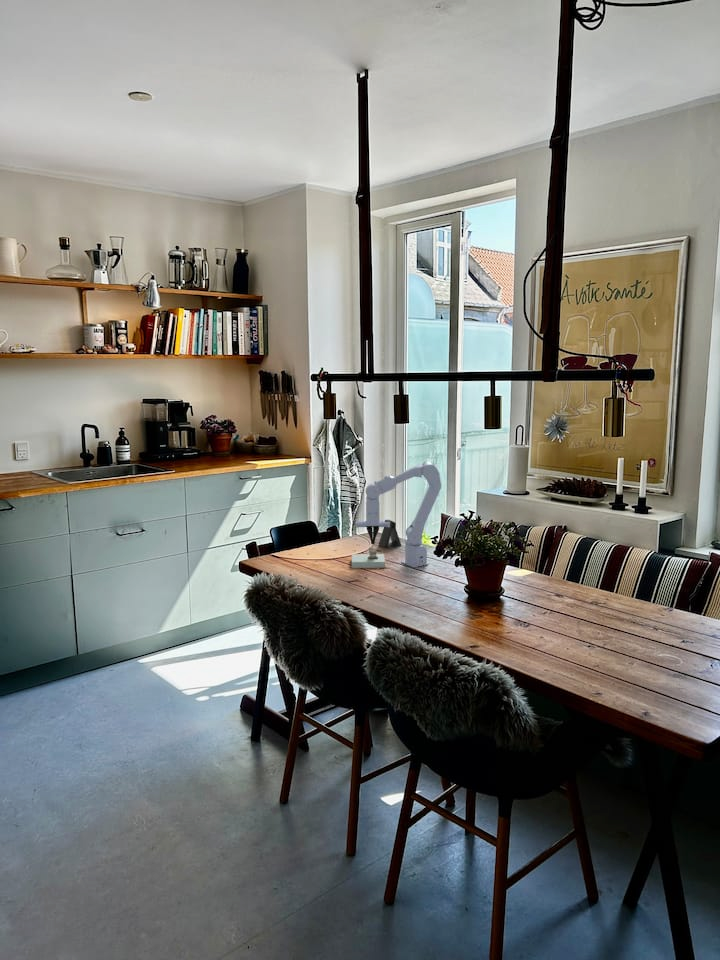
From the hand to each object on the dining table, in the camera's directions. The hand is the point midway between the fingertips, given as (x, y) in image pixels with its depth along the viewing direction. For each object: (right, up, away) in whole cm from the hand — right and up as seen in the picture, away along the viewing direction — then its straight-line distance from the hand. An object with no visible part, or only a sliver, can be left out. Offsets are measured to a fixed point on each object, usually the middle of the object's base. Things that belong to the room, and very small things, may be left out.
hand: (372, 543), depth 299 cm
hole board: (-2, -9, +2) cm, 9 cm away
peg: (0, -9, +2) cm, 9 cm away
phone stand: (+9, -4, +31) cm, 32 cm away
